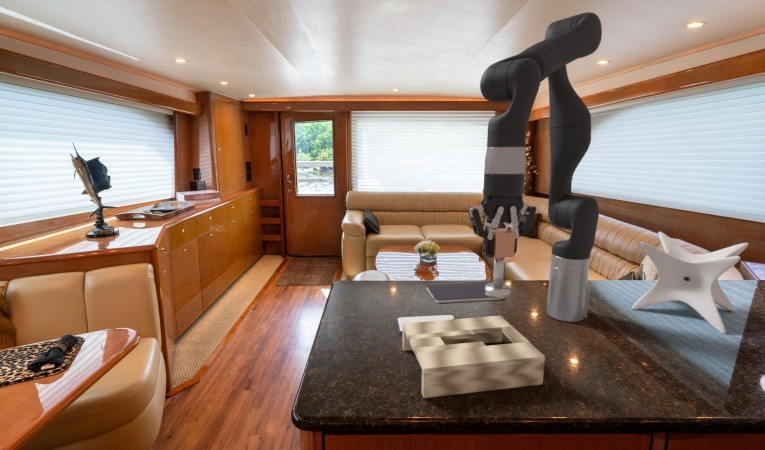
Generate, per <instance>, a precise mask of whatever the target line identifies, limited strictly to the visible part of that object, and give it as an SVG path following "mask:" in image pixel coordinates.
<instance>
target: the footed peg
mask: <svg viewBox="0 0 765 450" xmlns="http://www.w3.org/2000/svg"><path fill="white" fill-rule="evenodd" d="M492 240H494V243H493V257H492V258H493V270H492V271H493V272H492V273H493V274H492V282H487V283H488V284H486V285H485V294H486V295H487V296H489V297H492V298H497V299H500V300H503V299H508V298H509V297H510V296H511V287H510V286H509V285H507V284H504V273H505V258H514V257H515V253H514V246H515V232H513V231H511V230H509V229H506V227H504V228H503V227H502V228H500V227H498V228H497V229H496V230H495V232H494V236H493V239H492Z"/></svg>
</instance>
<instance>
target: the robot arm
mask: <svg viewBox="0 0 765 450" xmlns="http://www.w3.org/2000/svg"><path fill="white" fill-rule="evenodd" d="M602 32H603V30H602V21H601V18H600V17H599V16H598V15H597V14H596V13H594V12H590V11H588V12H583V13H579V14H575V15H571V16H568V17H565V18H563V19H559V20H555V21H554V22H551V23H550V24H549V25H548V26H547V28H546V30H545V36H544V40H541V41H538V42H536V43H534V44H532V45H531V46H529V47H527V48H526V49H524V50H522V51H521V52H519V53H518V54H515V55H513V56H510V57H506V58H504V59H501V60H498V61H496V62H494V63H492V64H490V65H489V66H488V67H487V68H486V69H485V70H484V72H483V73H482V75H481V78H480V82H479V83H480V84H479V89H480V93H481V95H482V96H483V98H484V99H485V100H486V101H488V102H490V103H495V104H500V103H508V102H511V103H510V105H509V106H508V107H509V108H508V109H507V110H506V111H504V112H503V113H499V114H497V115H495V116H492V117H491V118H490V119H489V121H488V124H487V141H486V150H485V151H486V152H485V156H484V157H485V158H484V172H483V174H484V175H483V188H482V189H483V192H482V193H483V194H482V195H483V197H482V198H483V199H482V201H481V202H480V204H479V205H477V206H470V207H468V208H467V213H468V216H469V219H470V223H471V226H472V229H473V233H474V235H476V236H478V237H480V238H482V239H483V242H482V252H483V254H484V256H486V257H487V258H489V259H490V258H491V259H493V258H494V257H493V243H494V240H492V239H493V236H494V232H495V230H496V229H498V228H499V224H502V223H503V224H504V226H505V228H506V229H509V230H511V231H513V232H515V246H514V254H516V253H517V252H518V251H517V249H518V239H519V238H520V237H521V236H526V235H528V233H529V230H530V227H531V224H532V222H533V221H534V217H535V215H536V212H537V207H536V206H532V205H528V204H525V202H524V200H523V195H524V193H525V191H524V189H525V175H526V162H527V160H526V159H527V156H526V143H527V142H526V141H527V131H528V130H527V128H528V123H529V119H530V117H531V113H532V109H533V107H534V104H535V101H536V98H537V96H538V92H539V90H540V86H541V82H542V81H545V80H546V79H547V83H548V99H549V102H548V103H549V104H548V105H549V121H548V123H549V146H550V147H549V148H550V178H549V179H550V180H549V191H548V192H549V193H548V202H547V203H548V207H547V210H548V211H547V214H548V219H549V221H550V224H551V225H552V226H554V227H555V228H559V229H563V230H568V231H571V232H570V235H569V238H568V239H565V240H559V241H555V242H553V243H552V247H551V255H550V256H551V257H550V268H549V279H548V280H549V281H548V290H547V302H546V310H545V311H546V314H547V315H548V316H549V317H551V318H553V319H555V320H559V321H561V322H569V323H577V322H580V321H582V320H584V319H587V318H588V312H589V311H588V310H589V301H590V292H591V285H590V283H588V280H589V272H590V271H589V270H590V262H591V261H590V260H591V253H592V250H593V248H594V245H595V240H596V232H597V228H598V227H597V226H598V222H599V216H600V208H599V204H598V201H597V200H596V199H595V198H594V197H592V196H587V195H577V194H573V193H572V185H573V184H572V182H573V176H574V174H575V171H576V170H577V168H578V166H579V165H580V163H581V161H582V160H583V158H584V157H585V155H586V154H587V152H588V149H589V148H590V145H591V142H592V116H591V112H590V110H589V109H588V107H587V105H586V103H585V102H584V101H583V99H582V98H581V96H580V95H579V94H578V93H577V91H576V90H575V88H574V87H573V86H572V84H571V81H570V80H569V76H568V71H567V65H568V64H570V63H571V62H574V61H576V60H578V59H582V58H586V57H587V56H590V55H593V54H594V53H595V52H596V51H597V50H598V48H599V46H600V44H601V41H602V34H603V33H602ZM483 212H484V214H485V215H486V217H485V221H484V226H483V222H482V216H483ZM519 213H520V214H521V216H520V217H519V221H518V216H519Z"/></svg>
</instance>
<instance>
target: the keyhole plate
mask: <svg viewBox="0 0 765 450" xmlns="http://www.w3.org/2000/svg"><path fill="white" fill-rule="evenodd" d="M503 334H504V336H506V338H507V339H509V340H510V341H511V342H512V343H504V344H493V343H500V342H503ZM401 342H402V350H403V352H407V351H413V353H414V355H415V357H416V359H417V362H418V363H419V365H420V369H421V386H420V387H421V388H420V389H421V392H420V393H421V395H422V398H423V399H427V398H437V397H445V396H453V395H461V394H470V393H471V394H472V393H479V392H487V391H497V390H504V389H513V388H521V387H530V386H539V385H543V382H544V374H545V362H546V361H545V360H546V356H545V354H543V353H542V352H541V351H540V350H539V349H538V348H536V347H535V346H534V345H533V344H532V342H530V341H529V340H528V339H527V338H526V337H525V336H523V335H522V334H521V333H520V332H519V331H518V330H517V328H514V326H513V325H511V324H510V323H509V322H508V321H507V320H506V319H505V318H503V316H502V315H490V316H480V317H479V316H478V317H466V318H456V319H452V320H440V321H428V322H416V323H404V324H403V335H402V341H401ZM489 343H490V345H486V344H489ZM491 343H492V344H493V345H491Z"/></svg>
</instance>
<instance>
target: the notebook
mask: <svg viewBox="0 0 765 450" xmlns="http://www.w3.org/2000/svg"><path fill="white" fill-rule="evenodd" d="M488 283H489V282H488V281H483V282H463V283H462V282H461V283H444V284H443V283H441V284H426V285H425V288H426V290H427V292H428V293H429V294H430V296H431V297H432V298H433V301H435V303H437V304H440V303H441V304H442V303H443V304H444V303H445V304H446V303H460V302H462V303H463V302H477V301H478V302H479V301H480V302H481V301H495V300H501V299H497V298H492V297H489V296H487V295H486V294H485V285H486V284H488Z"/></svg>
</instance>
